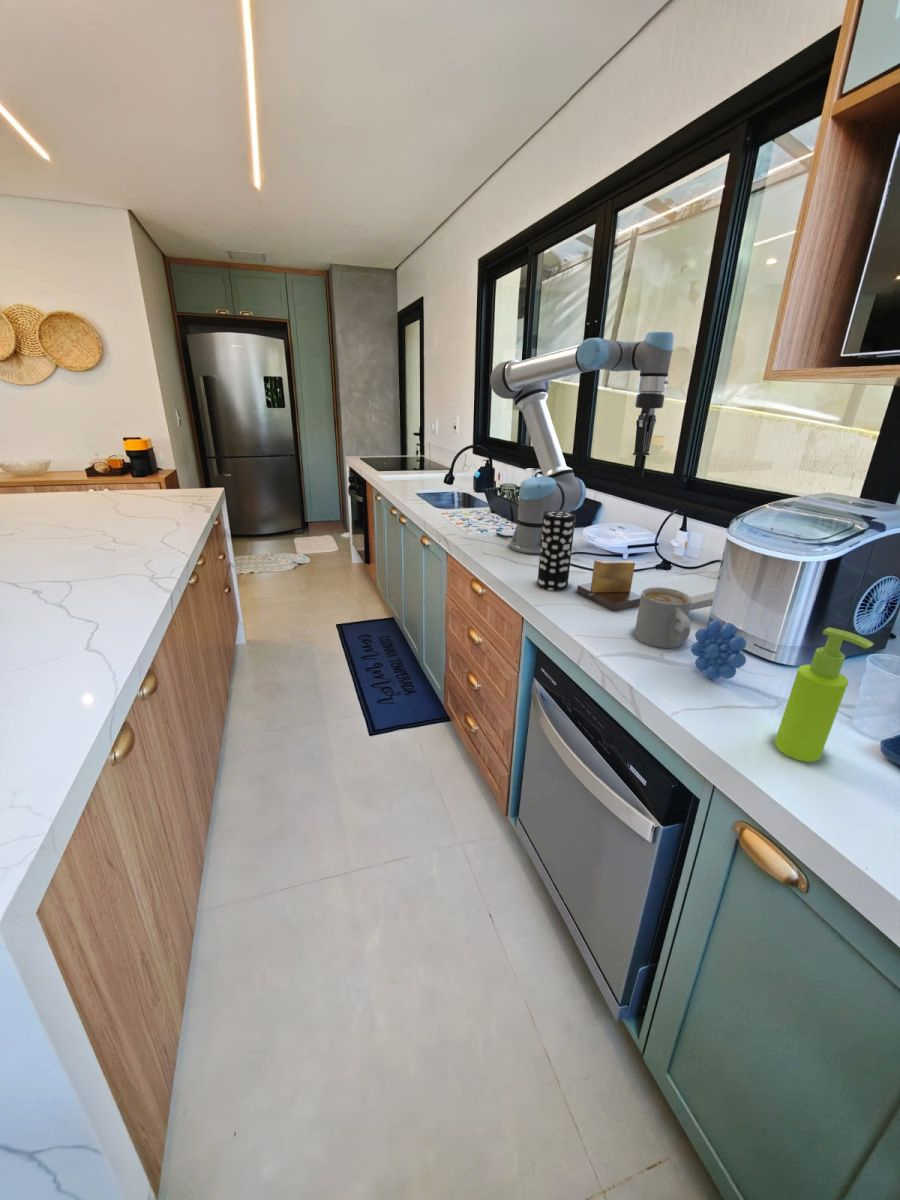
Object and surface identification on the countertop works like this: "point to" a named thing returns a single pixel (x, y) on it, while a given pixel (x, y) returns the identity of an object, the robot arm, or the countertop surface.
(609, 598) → the dark brown flat slab
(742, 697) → the countertop surface
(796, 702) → the soap dispenser
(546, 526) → the white-spotted black cylinder
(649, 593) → the coffee mug
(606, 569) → the golden brown rectangular block
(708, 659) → the blue bumpy cluster
